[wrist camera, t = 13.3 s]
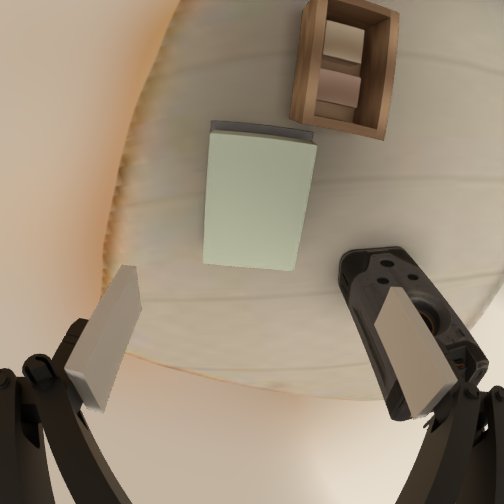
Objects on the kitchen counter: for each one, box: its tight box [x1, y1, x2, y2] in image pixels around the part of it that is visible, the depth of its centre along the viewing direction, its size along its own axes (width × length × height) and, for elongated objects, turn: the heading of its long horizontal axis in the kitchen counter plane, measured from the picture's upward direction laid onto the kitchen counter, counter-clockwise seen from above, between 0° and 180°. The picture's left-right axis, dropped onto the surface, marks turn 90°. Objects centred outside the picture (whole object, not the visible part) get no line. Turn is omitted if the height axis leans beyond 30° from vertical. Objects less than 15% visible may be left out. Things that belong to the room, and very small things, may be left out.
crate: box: [289, 0, 399, 141], centre depth 21 cm, size 12×7×7 cm, turn 174°
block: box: [203, 130, 317, 271], centre depth 28 cm, size 12×9×4 cm
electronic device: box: [338, 247, 489, 421], centre depth 27 cm, size 9×6×20 cm, turn 94°
